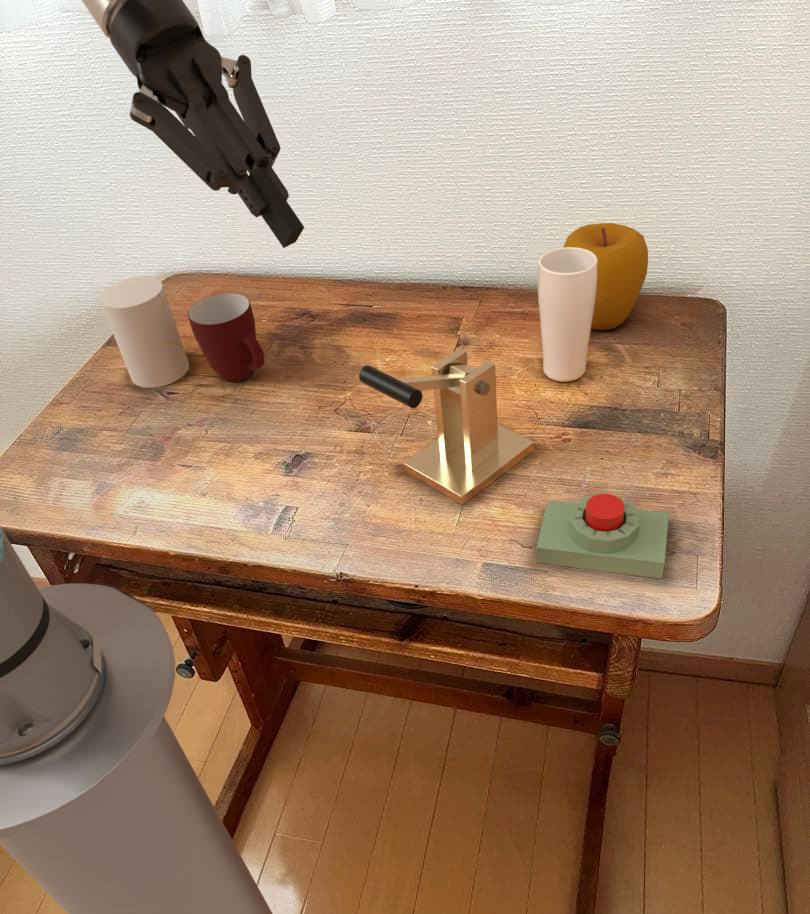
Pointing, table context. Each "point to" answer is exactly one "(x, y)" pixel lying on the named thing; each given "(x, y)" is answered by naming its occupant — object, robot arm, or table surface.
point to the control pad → (603, 540)
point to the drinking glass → (566, 310)
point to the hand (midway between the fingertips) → (293, 237)
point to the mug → (227, 335)
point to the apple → (613, 269)
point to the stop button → (604, 512)
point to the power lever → (412, 383)
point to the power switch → (467, 436)
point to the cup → (145, 331)
